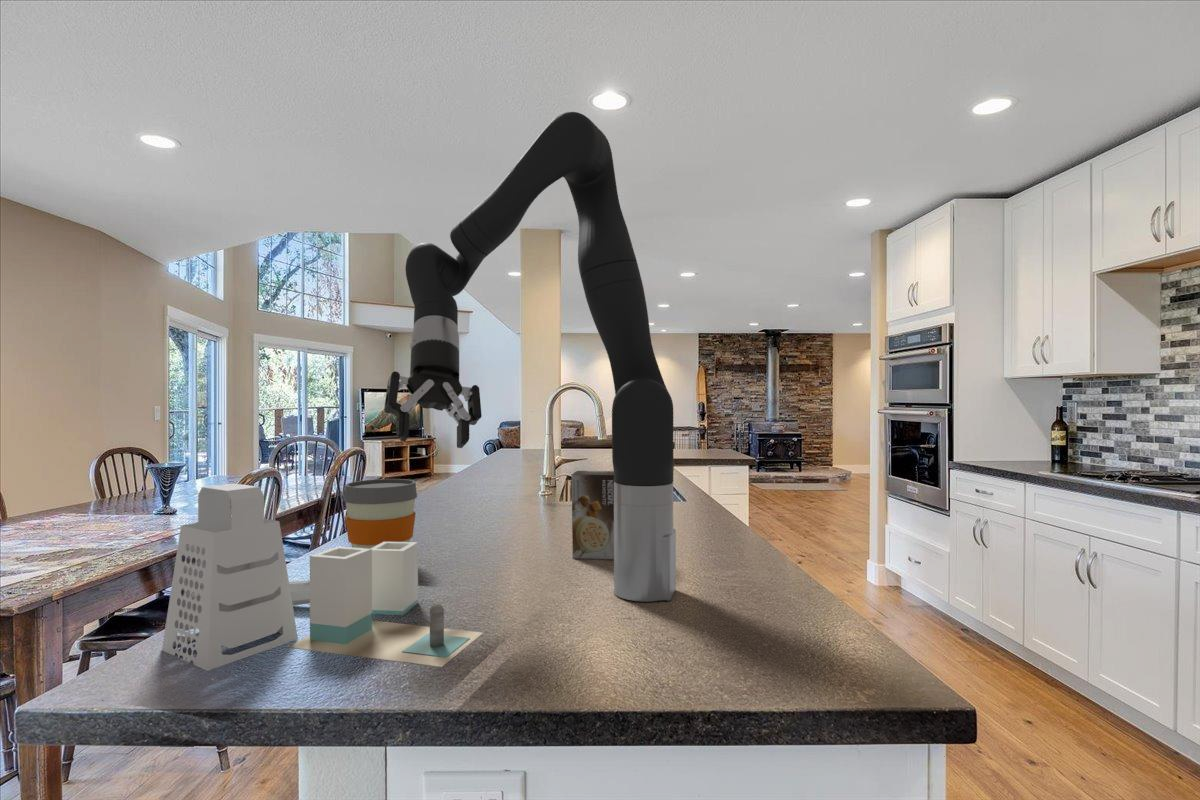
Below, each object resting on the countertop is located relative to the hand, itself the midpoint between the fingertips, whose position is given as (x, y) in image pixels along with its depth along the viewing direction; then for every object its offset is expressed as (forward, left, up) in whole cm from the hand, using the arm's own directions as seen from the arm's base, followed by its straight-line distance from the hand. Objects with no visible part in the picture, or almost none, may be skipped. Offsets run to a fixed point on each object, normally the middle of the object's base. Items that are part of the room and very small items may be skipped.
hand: (433, 442), depth 92 cm
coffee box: (-16, -33, -24) cm, 44 cm away
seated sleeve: (+2, +18, -22) cm, 28 cm away
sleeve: (+2, +8, -24) cm, 25 cm away
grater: (+13, +24, -24) cm, 36 cm away
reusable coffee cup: (+20, -15, -24) cm, 35 cm away
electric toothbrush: (+19, +11, -24) cm, 33 cm away
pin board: (-4, +18, -24) cm, 30 cm away
